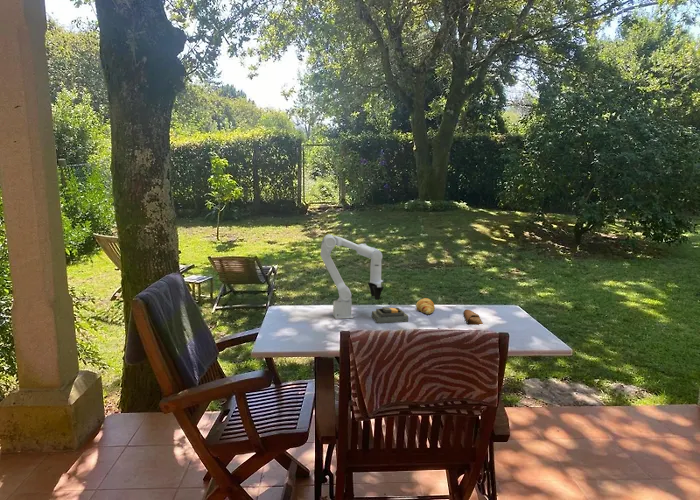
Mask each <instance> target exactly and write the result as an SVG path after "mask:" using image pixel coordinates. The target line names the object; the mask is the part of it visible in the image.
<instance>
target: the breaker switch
mask: <svg viewBox="0 0 700 500" xmlns="http://www.w3.org/2000/svg"><path fill="white" fill-rule="evenodd" d="M396 308H397V307H385V306H384V307H382V308H381V309H382V310H383V311H384V312H385V313H398V310H397V309H396Z"/></svg>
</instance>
